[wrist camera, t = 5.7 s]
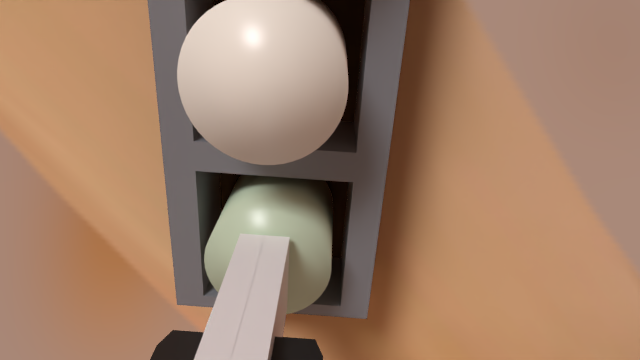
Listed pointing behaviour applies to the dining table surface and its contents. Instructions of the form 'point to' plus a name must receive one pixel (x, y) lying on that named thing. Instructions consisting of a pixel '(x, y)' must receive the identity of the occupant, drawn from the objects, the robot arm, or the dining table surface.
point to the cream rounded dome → (265, 78)
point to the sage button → (278, 231)
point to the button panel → (323, 164)
